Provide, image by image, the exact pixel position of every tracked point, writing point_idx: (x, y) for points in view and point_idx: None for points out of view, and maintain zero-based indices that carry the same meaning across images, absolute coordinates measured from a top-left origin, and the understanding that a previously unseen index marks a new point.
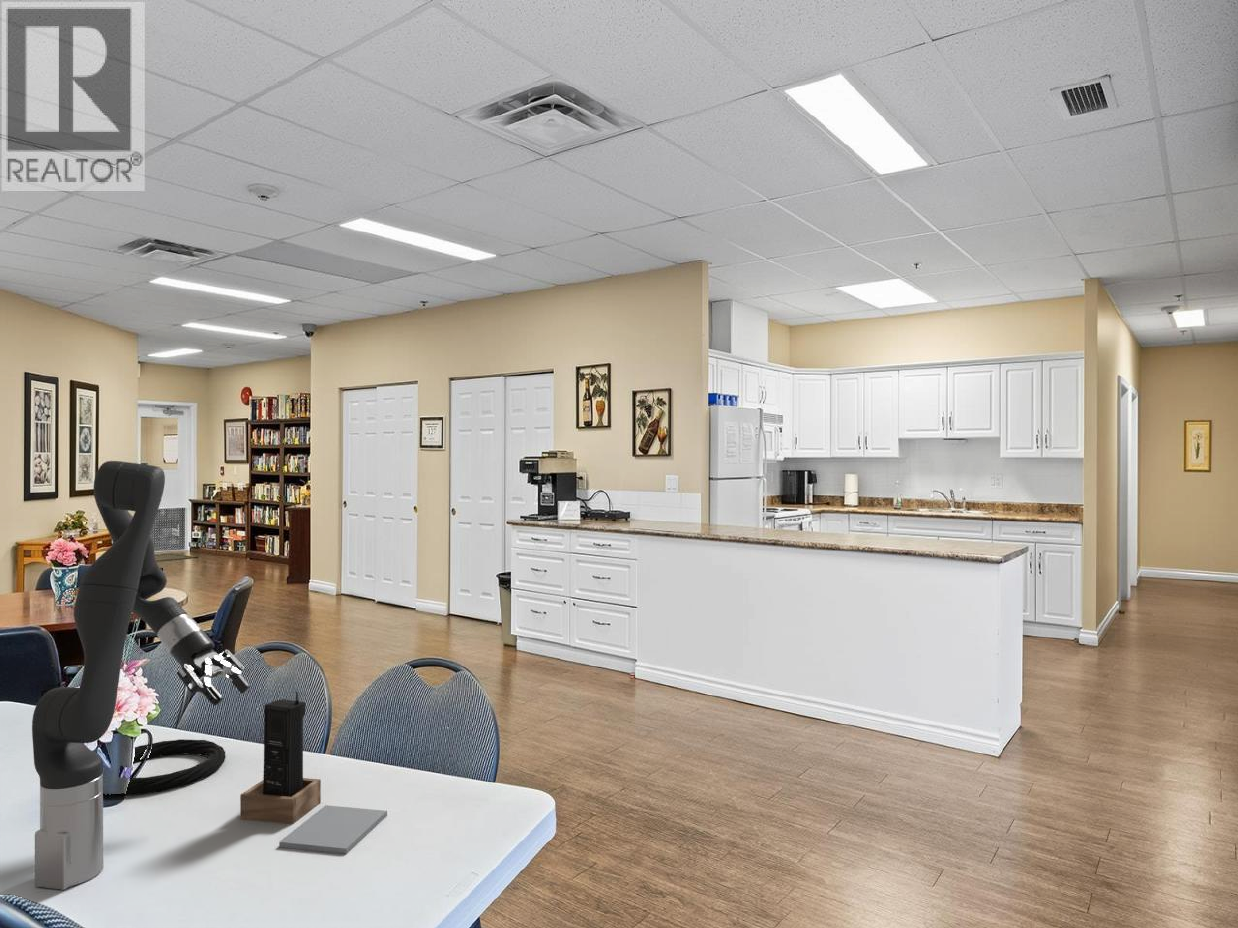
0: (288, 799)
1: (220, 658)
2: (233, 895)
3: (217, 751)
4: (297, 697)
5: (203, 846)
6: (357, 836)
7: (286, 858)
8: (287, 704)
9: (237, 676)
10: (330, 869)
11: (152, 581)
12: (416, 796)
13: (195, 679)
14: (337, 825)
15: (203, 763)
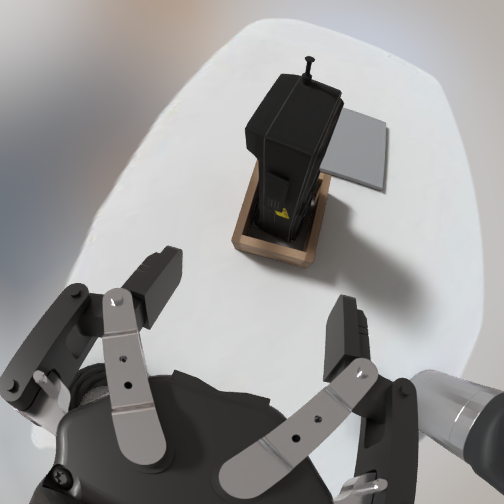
0: (329, 182)
1: (119, 413)
2: (456, 209)
3: (93, 376)
4: (309, 68)
5: (381, 284)
6: (362, 115)
7: (400, 177)
8: (310, 99)
9: (148, 296)
10: (410, 136)
11: None
12: (250, 82)
13: (411, 419)
14: (339, 135)
15: None
